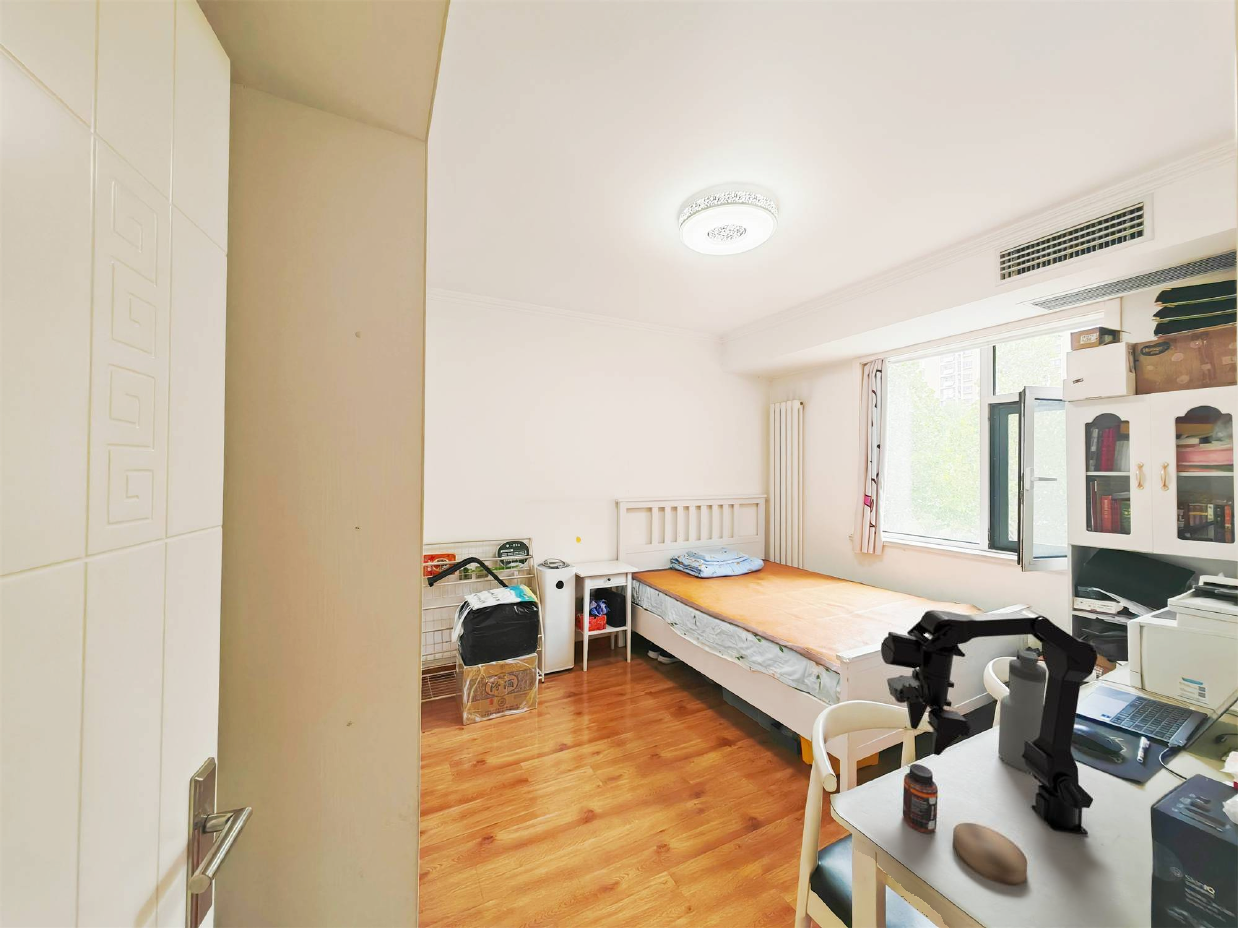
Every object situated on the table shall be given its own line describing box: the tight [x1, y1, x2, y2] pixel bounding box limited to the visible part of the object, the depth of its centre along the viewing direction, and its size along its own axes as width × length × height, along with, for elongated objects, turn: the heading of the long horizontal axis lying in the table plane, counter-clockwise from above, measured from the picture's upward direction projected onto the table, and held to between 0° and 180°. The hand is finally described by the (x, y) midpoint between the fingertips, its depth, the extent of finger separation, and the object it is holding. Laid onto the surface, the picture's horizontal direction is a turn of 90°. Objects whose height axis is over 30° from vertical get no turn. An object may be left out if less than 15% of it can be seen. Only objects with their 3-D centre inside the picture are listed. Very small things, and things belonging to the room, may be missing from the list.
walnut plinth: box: [952, 822, 1028, 886], centre depth 88 cm, size 11×11×2 cm
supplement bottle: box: [902, 763, 939, 834], centre depth 97 cm, size 6×6×11 cm
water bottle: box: [997, 648, 1047, 775], centre depth 117 cm, size 10×10×28 cm
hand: (924, 740), depth 101 cm, fingers open, 9 cm apart
